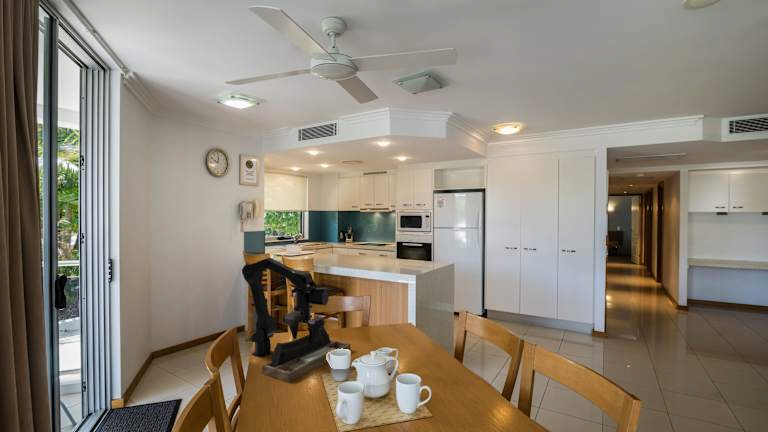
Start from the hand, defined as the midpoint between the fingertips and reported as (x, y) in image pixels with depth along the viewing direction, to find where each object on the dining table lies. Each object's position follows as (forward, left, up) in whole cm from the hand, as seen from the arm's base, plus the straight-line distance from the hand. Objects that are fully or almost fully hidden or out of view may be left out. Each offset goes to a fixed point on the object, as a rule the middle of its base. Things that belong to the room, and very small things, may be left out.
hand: (302, 341), depth 150 cm
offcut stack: (+7, 0, -8) cm, 11 cm away
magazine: (0, 0, -8) cm, 8 cm away
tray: (+3, 0, -8) cm, 8 cm away
